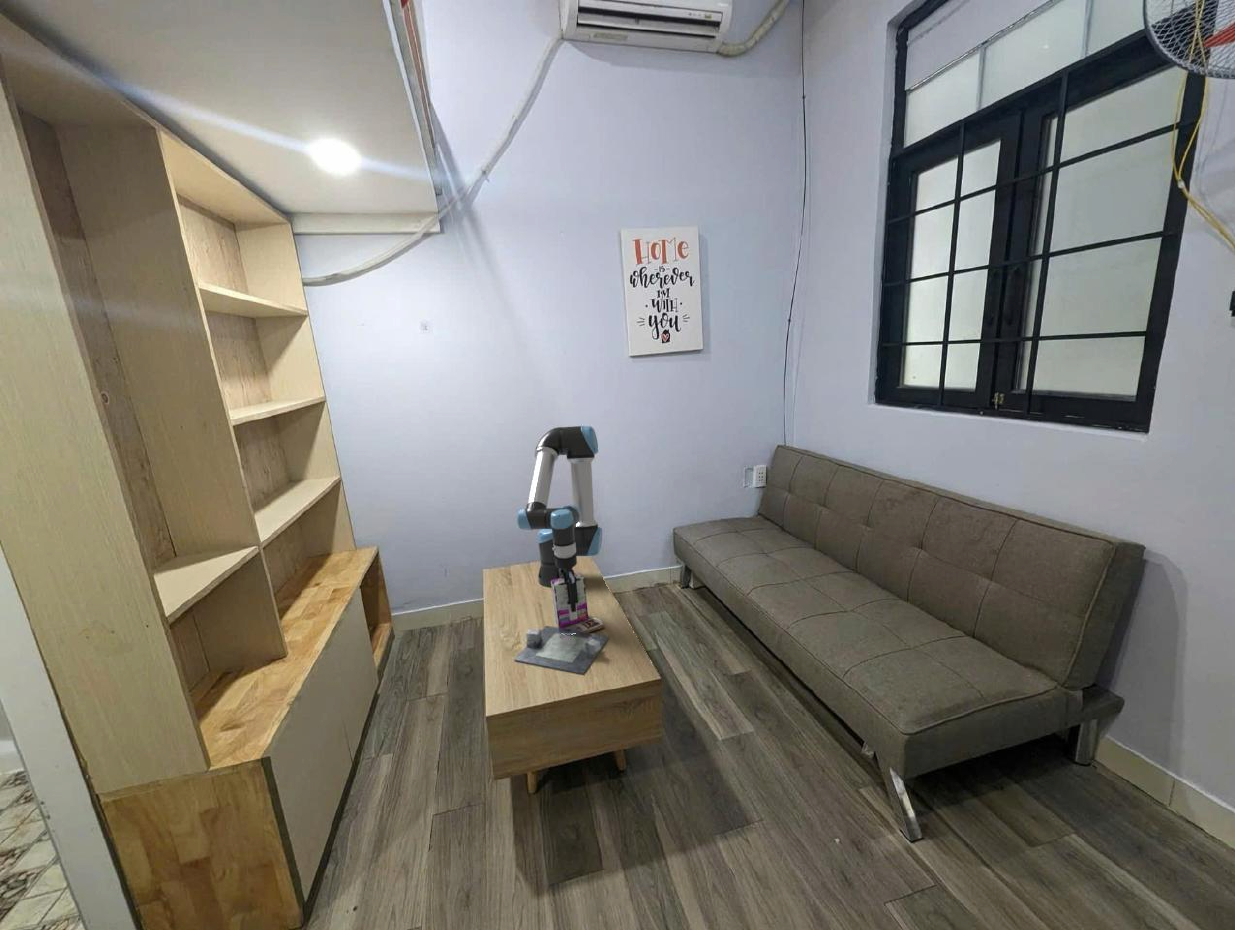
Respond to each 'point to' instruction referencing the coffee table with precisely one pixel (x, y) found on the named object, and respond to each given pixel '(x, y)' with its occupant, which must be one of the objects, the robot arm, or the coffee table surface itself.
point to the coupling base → (561, 649)
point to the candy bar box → (562, 598)
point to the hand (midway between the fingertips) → (571, 615)
